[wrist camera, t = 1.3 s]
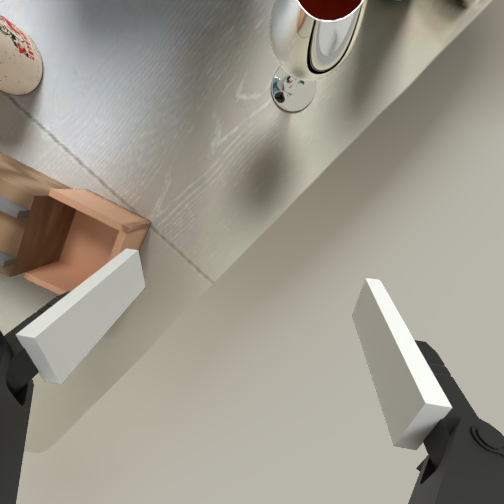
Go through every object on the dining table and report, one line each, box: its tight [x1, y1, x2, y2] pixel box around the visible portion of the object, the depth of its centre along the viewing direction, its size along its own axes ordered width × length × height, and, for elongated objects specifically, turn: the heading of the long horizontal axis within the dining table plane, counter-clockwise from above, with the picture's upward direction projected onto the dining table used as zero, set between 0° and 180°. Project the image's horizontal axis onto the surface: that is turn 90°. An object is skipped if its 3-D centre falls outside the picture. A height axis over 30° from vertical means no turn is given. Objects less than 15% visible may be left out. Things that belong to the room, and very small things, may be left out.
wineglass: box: [269, 0, 368, 112], centre depth 25 cm, size 8×8×18 cm
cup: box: [23, 189, 151, 295], centre depth 36 cm, size 11×14×7 cm
